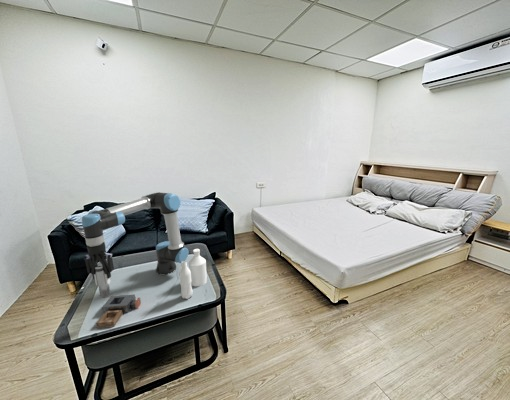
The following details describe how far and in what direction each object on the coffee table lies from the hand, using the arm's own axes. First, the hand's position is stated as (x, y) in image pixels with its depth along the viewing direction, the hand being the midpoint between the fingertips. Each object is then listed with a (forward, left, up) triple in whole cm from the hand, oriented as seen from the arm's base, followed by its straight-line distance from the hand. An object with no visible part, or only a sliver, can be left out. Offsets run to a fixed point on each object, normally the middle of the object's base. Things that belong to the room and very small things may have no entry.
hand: (103, 283), depth 116 cm
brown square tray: (0, 0, -24) cm, 24 cm away
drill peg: (0, 0, -7) cm, 7 cm away
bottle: (-44, -32, -24) cm, 60 cm away
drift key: (-7, -10, -23) cm, 27 cm away
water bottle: (-39, -16, -24) cm, 49 cm away
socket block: (+1, -10, -24) cm, 26 cm away
